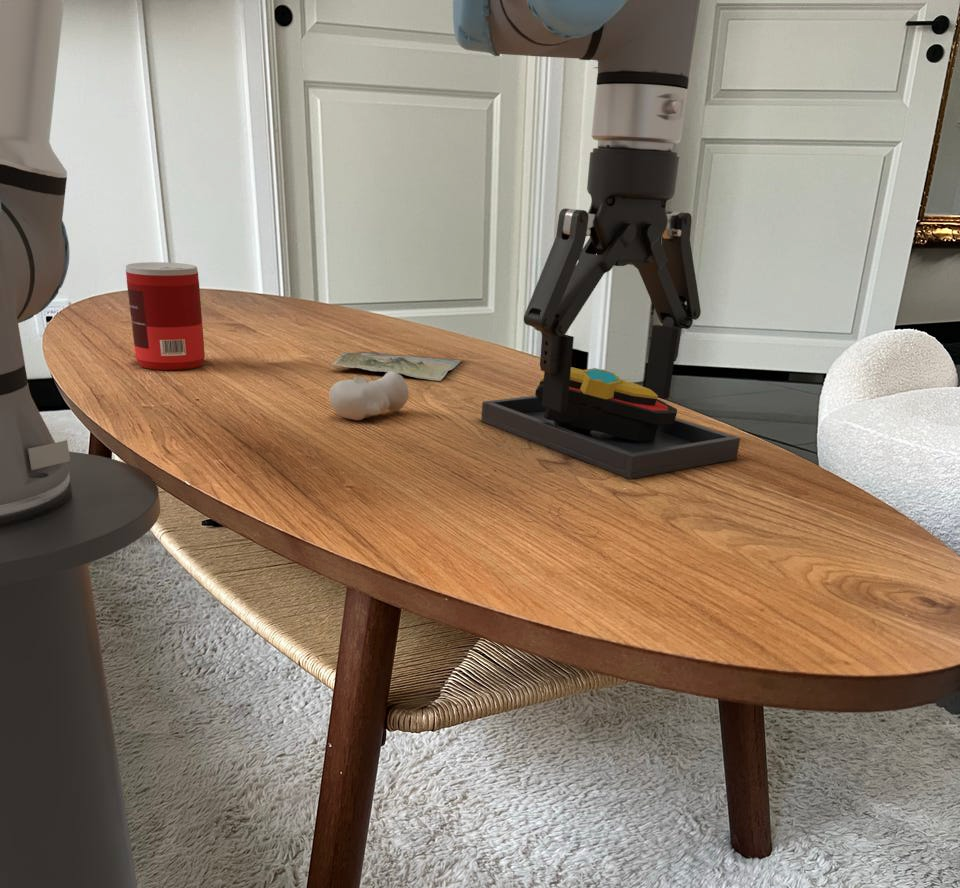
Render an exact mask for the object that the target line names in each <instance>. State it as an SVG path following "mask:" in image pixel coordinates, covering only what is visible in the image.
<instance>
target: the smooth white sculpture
mask: <svg viewBox="0 0 960 888" xmlns="http://www.w3.org/2000/svg"><path fill="white" fill-rule="evenodd" d="M328 400H329V403H330V406H331V408H332V410H333V411H334V412H335V413H336V414H337V415H339V416H340V417H343V418H345V419H348V420H353V421H362V420H364V419H369V418H371V417H374V416H378V415H379V414H380V413H383V412H386V411H389V412H391V413H395V412H399V411H400V410H401V409H403V408H404V406H405V405H406V404H407V403H408V400H409V388H408V385H407V383H406V380H405V378H404V376H402V374H398V373H395V372H393V371H389V372H385V374H384V375H383V376H382V377H381V378H378V379H375V380H368V379H366V378H364V377H362V376H355V377H354V378H353V379H343V380H339V381H337V382H335V383H334V384H333V385H332V386H331V387H330V389H329V393H328Z"/></svg>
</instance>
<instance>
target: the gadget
mask: <svg viewBox="0 0 960 888" xmlns="http://www.w3.org/2000/svg"><path fill="white" fill-rule="evenodd" d="M543 383H544V375H543V376H542V377H541V378H540V380H539V385H538V386H537V387H536V389H535V392H534V393H535V394H534V396H536V397H537V398H538V399H539V400H542V396H543ZM677 414H678V409H677V407H674V406H672V405H670V404H668V403H667V402H665V401H663V400H661V399H660V398H658V395H657V394H656V393H654V392H653V391H652V390H651V389H648V388H645V386H642V385H640V384H638V383H636V382H632V381H627V380H624V379H621V378H620V377H619V376H618V375H617V374H616V373H615V372H611V371H609V370H606V369H600V368H596V367H592V368H587V369H581V368H576V367H572V366H571V373H570V384H569V395H568V406H567V411H566V412H559V411H556V410H553V409H550V408H547V407H546V411H545V415H544V418H545V419H548V420H552V421H553V422H554V424H555V425H557V426H559V427H562V428H565V429H568V430H571V431H573V432H576V433H579V434H586V433H589V432H591V431H598V432H602V433H606V434H610V435H614V436H618V437H621V438H625V439H629V440H633V441H654V439H655V436H656V432H657V429H658V426H659V425H672V424H674V421H675V418H677Z"/></svg>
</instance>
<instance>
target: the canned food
mask: <svg viewBox="0 0 960 888" xmlns="http://www.w3.org/2000/svg"><path fill="white" fill-rule="evenodd" d="M125 275H126V276H125V277H126V287H127V295H128V305H129V312H130V318H131V319H130V320H131V321H130V322H131V329H132V330H131V331H132V337H133V338H132V339H133V346H134V354H135V355H134V356H135V359H136V361H137V363H138V366H140V367H142V368H144V369H149V370H159V371H183V370H190V369H196V368H199V367H201V366H202V365H203V364H204V363H205V357H206V356H205V355H206V353H205V341H204V328H203V327H204V326H203V315H202V303H201V291H200V290H201V289H200V279H199V278H200V277H199V272H198V266H196V265H194V264H191V263H182V262H181V263H180V262H167V261H166V262H165V261H163V262H162V261H161V262H160V261H159V262H157V261H149V262H147V261H146V262H134V263H129V264H126V265H125Z"/></svg>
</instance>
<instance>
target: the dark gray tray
mask: <svg viewBox="0 0 960 888" xmlns="http://www.w3.org/2000/svg"><path fill="white" fill-rule="evenodd" d="M545 411H546V407H544V406H542V400H539V399H538V398H537V397H536V395H529V396H519V397H512V398H503V399H493V400H484V401H482V403H481V422H482V423H485V424H488V425H490V426H492V427H495V428H497V429H500V430H503V431H505V432H508V433H510V434H512V435H516V436H518V437H520V438H523V439H526V440H529V441H531V442H534V443H536V444H539V445H541V446H543V447H547V448H549V449H552V450H554V451H557V452H559V453H562V454H564V455H567V456H570V457H572V458H575V459H578V460H580V461H582V462H585V463H587V464H590V465H592V466H595V467H598V468H600V469H603V470H605V471H607V472H610V473H613V474H615V475H618V476H621V477H623V478H626V479H629V480H633V479H639V478H645V477H648V476H654V475H660V474H666V473H671V472H675V471H676V472H677V471H682V470H686V469H691V468H697V467H702V466H707V465H712V464H713V465H714V464H718V463H723V462H729V461H734V460H737V459H738V454H739V448H740V442H741V437H738V436H735V435H732V434H729V433H726V432H722V431H719V430H717V429H714V428H713V429H712V428H709V427H706V426H702V425H699V424H697V423H693V422H690V421H686V420H683V419H680V418H677V417H676V418H675V421H674V424H672V425H659V426H658V429H657V432H656V436H655V439H654V441H633V440H629V439H625V438H621V437H618V436H614V435H610V434H606V433H602V432H598V431H591V432H589V433H586V434H579V433H576V432H573V431H571V430H568V429H565V428H562V427H559V426H557V425H555V424H554V422H553V421H552V420H548V419H545V418H544V415H545Z"/></svg>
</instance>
